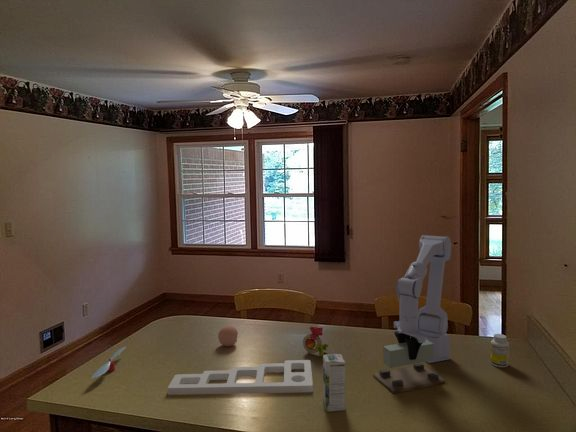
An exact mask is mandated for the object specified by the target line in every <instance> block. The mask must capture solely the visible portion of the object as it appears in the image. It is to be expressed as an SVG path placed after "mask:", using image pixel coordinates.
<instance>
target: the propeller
mask: <svg viewBox="0 0 576 432" xmlns="http://www.w3.org/2000/svg"><path fill="white" fill-rule="evenodd" d="M126 347H127V346H123V347H121V348H120V349H118V350H117V351H115V352H114V353H113V354H112V355H111V357H110V358H109V359H108V360H107V362H106V363H104V364H103V365H102V366H100V367H99V368H98V369H97V370H96V371H95V372H94V373H93V374H92V376H91V377H90V378H91V379H96V378H98V377H100V376H102V375H104V374H106V373H109V372H113V371H115V369H116V366H115V361H113V360H114V358H116V357H117V356H119V355H120V354H121V353H122V352H123V351H124V350H125V349H126Z"/></svg>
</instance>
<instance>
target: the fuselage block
mask: <svg viewBox="0 0 576 432" xmlns="http://www.w3.org/2000/svg"><path fill="white" fill-rule="evenodd" d="M433 345H434V344H433V343H432V342H430V341H428V340H426V339H425V342H423V343H422V344H421V346H420V348H419V351H418V354H417V358H416V359H414V360H410V359H409V352H408V346H407V343H400V344H399V343H394V344H389V345H384V346H382V347H383V350H382V351H383V353H382V354H383V359H382V360H383V361H382V363H383V364H384V365H386V367H388V368H389V369H392V368H398V367H403V366H408V365H414V364H418V363H425V362H426V361H431V360H433Z"/></svg>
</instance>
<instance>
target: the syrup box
mask: <svg viewBox="0 0 576 432" xmlns="http://www.w3.org/2000/svg"><path fill="white" fill-rule="evenodd" d="M322 362H323V363H322V402H323V406H324V410H325V412H328V413H329V412H341V411H346V361H345V359H344V357H343V355H342V354H339V353H329V354H323V355H322Z"/></svg>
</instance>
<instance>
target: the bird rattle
mask: <svg viewBox="0 0 576 432" xmlns="http://www.w3.org/2000/svg"><path fill="white" fill-rule="evenodd" d="M309 330H310V333H308V334H306V335H305V336H304V337H303V339H302V346H303V348H304V350H305V351H306V352H307V355H309V354H316V353H319V357H323V355H324V351H327V348H328V347H329V344H327V343H324V344H322V339H321V338H320V337H321V336H323V335H324V334H323V330H324V329H323V327H316V326H309Z"/></svg>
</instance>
